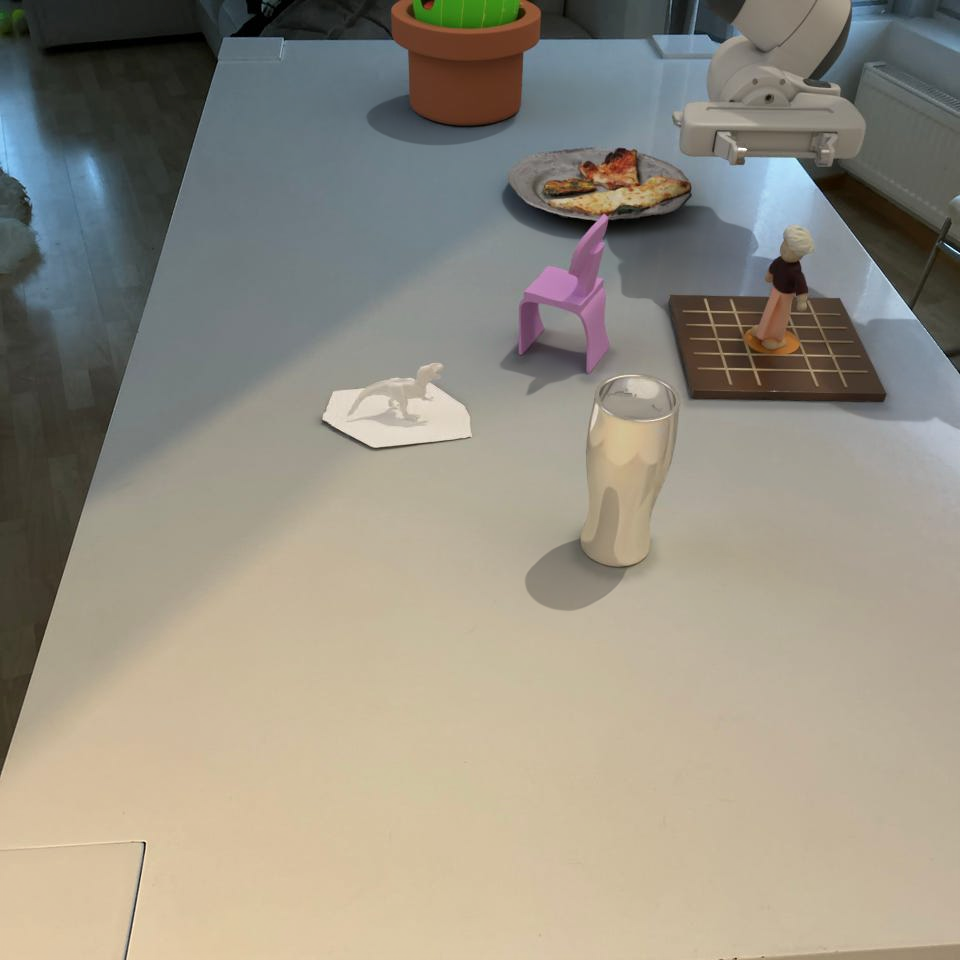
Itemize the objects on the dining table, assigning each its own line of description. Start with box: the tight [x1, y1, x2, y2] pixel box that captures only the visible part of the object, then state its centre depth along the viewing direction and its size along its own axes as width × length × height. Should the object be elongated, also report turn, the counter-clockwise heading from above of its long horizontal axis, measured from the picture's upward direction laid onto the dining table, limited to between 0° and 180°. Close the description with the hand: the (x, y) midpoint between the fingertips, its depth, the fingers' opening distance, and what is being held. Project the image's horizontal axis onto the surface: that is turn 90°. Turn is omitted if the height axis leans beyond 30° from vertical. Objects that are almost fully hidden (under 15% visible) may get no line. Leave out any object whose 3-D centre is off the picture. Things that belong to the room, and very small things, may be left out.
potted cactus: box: [390, 0, 542, 127], centre depth 148 cm, size 22×22×25 cm
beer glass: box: [579, 373, 681, 568], centre depth 80 cm, size 7×7×15 cm
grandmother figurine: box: [750, 224, 815, 350], centre depth 103 cm, size 8×4×13 cm, turn 29°
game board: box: [668, 294, 888, 403], centre depth 108 cm, size 20×20×1 cm
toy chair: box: [518, 214, 611, 374], centre depth 102 cm, size 8×9×15 cm
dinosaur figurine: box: [322, 362, 473, 449], centre depth 97 cm, size 15×12×6 cm
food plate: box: [507, 146, 693, 222], centre depth 134 cm, size 25×23×4 cm
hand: (782, 158), depth 105 cm, fingers open, 8 cm apart
